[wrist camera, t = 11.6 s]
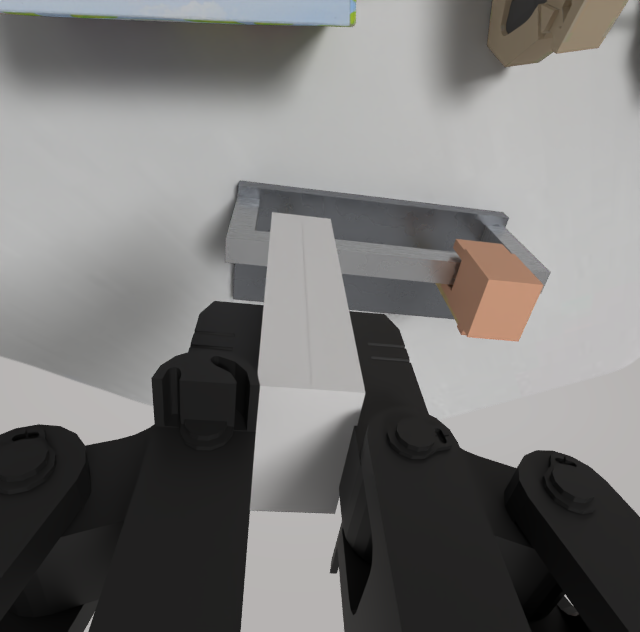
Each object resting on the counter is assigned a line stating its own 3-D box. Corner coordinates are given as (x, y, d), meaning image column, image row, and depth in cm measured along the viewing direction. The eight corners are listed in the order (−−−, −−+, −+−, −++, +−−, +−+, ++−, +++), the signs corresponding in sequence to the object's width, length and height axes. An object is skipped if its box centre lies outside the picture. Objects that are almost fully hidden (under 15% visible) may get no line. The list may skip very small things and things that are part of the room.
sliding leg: (415, 271, 48) (458, 360, 35) (433, 205, 44) (488, 279, 32) (452, 275, 48) (508, 364, 36) (473, 210, 44) (543, 285, 32)
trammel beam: (236, 249, 47) (223, 304, 38) (238, 192, 44) (225, 238, 35) (482, 274, 50) (524, 330, 41) (501, 223, 47) (550, 272, 38)
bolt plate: (234, 292, 50) (233, 299, 48) (239, 180, 43) (238, 185, 42) (466, 313, 53) (470, 320, 52) (502, 212, 47) (508, 217, 45)
